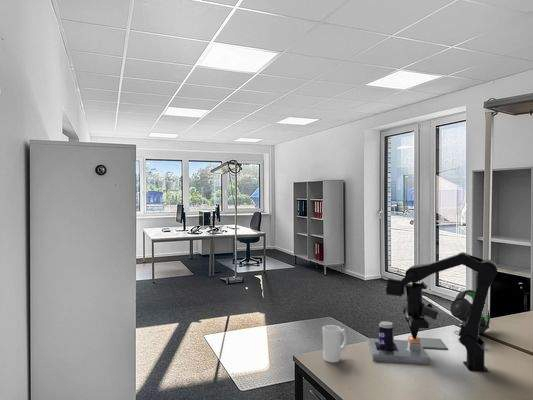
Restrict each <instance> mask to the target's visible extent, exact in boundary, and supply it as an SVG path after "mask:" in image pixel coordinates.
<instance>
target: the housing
mask: <svg viewBox="0 0 533 400" xmlns="http://www.w3.org/2000/svg"><path fill="white" fill-rule="evenodd" d="M368 347H369V351H370V355H371V358H372V361H373V362H385V363H386V362H387V363H399V364H401V363H402V364H416V365H417V363H418V365H429V364H430V357H429V355H428V353H427V351H426V350H425V348H423V347H422V346H421V344H411V343H409V342H408V339H394V350H395V351H381V350H379V338H372V337H370V338H368Z"/></svg>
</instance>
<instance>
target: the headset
mask: <svg viewBox="0 0 533 400" xmlns="http://www.w3.org/2000/svg"><path fill="white" fill-rule="evenodd" d="M475 293H476V290H472V289H466V290H463V291H460V292H459V293H457V295H456V297H455V299H453V301H452V302H451V305H450V314H451V315H452V316H453V317H454V318H455V319H458V320H459V321H461V322H462V321H464V322H467V320H468V318H469V315H470V311H471V308H472V304H473V303H471V302H470V301H469V300H468V299H467V298H465V297H466V296H469V297H471V298H472V300H474V296H475ZM489 311H490V310H488V315H487V317H483V314H482V315H481V319H480V322H479V337H480V338H481V334H484V333H486V331H487V330H488V329H490V328H491V327H490V321H491V320H490V319H491V317H490V312H489ZM459 331H460V330H456V331H454V335H457V336H458V334H459ZM457 340H458V341H459V342H460V337H459V338H458V339H457Z"/></svg>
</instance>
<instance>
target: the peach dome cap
mask: <svg viewBox="0 0 533 400" xmlns="http://www.w3.org/2000/svg"><path fill="white" fill-rule="evenodd" d="M420 338H421V337H418V336H417V337H416V339H413V337H412V335H410V336H408V338H407V340H408V342H409V343H411V344H420Z"/></svg>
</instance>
